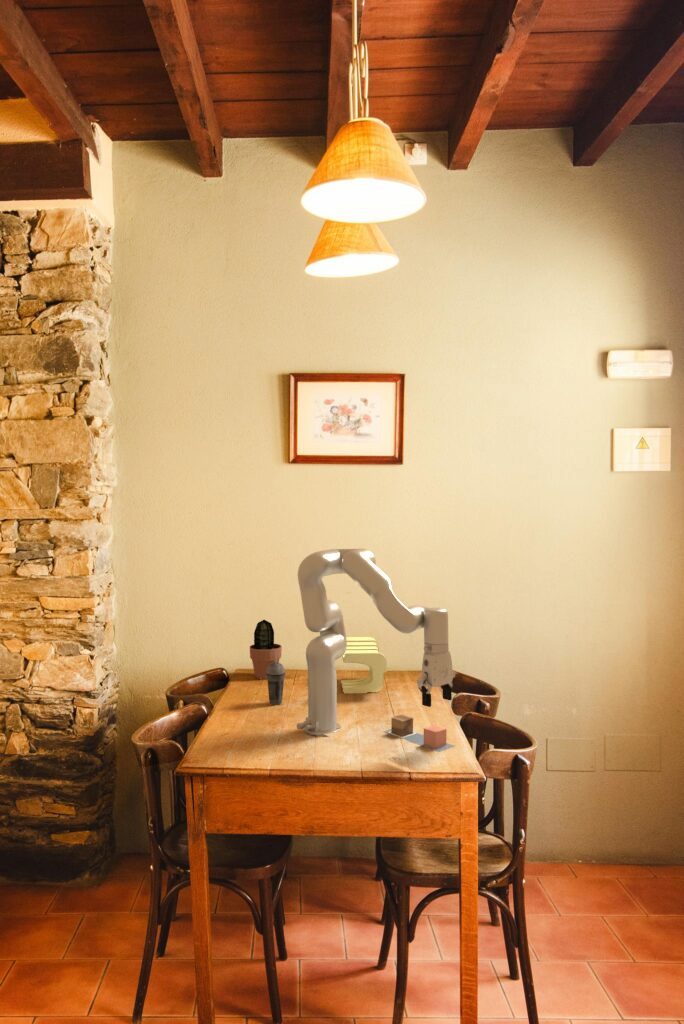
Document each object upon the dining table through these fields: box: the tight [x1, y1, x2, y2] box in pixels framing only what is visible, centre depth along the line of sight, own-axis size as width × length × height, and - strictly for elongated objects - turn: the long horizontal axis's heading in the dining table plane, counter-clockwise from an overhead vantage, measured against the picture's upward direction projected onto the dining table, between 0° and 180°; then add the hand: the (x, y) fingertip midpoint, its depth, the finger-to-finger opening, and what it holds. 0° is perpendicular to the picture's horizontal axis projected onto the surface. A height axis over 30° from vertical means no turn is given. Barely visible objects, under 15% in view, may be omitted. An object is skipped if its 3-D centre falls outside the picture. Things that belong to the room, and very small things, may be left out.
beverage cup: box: [266, 651, 286, 706], centre depth 269 cm, size 7×7×20 cm
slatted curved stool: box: [340, 636, 388, 694], centre depth 291 cm, size 30×16×18 cm, turn 4°
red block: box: [423, 724, 447, 748], centre depth 224 cm, size 5×5×5 cm
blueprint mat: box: [383, 729, 455, 753], centre depth 229 cm, size 8×24×1 cm, turn 42°
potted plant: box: [249, 619, 283, 680], centre depth 307 cm, size 14×14×25 cm
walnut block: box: [390, 714, 414, 737], centre depth 235 cm, size 5×5×5 cm
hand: (437, 702), depth 224 cm, fingers open, 9 cm apart
